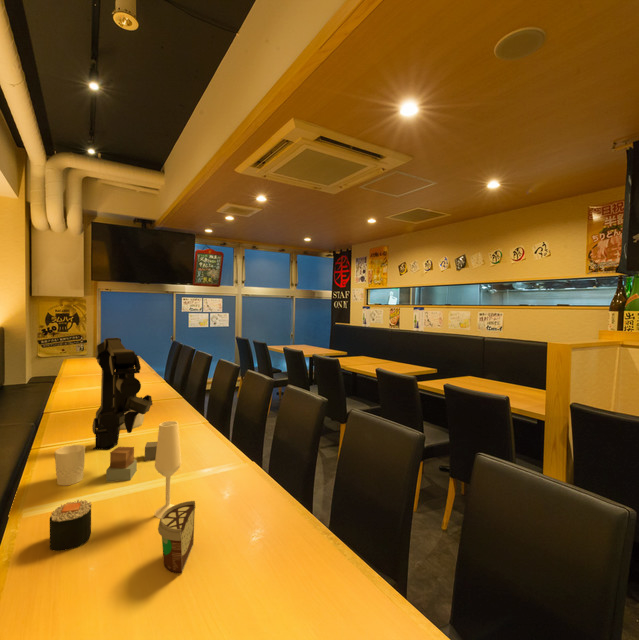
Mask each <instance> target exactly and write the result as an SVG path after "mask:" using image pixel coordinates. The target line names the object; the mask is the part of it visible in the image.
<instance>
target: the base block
mask: <svg viewBox="0 0 639 640" xmlns="http://www.w3.org/2000/svg"><path fill="white" fill-rule="evenodd" d="M137 464H138V461H137V459H134V462H133V463H132V464H131V465H130V466H128V467H127V468H126V469H125V468H110V465H109V466H108V468H106V470H105V471H106V472H105V475H106V477H105V482H106V483H107V482H109V483H110V482H125V481H128V482H129V481H132V478H133V477H134V476H135V474H136V472H137V471H138V470H137V467H138V465H137Z"/></svg>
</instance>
